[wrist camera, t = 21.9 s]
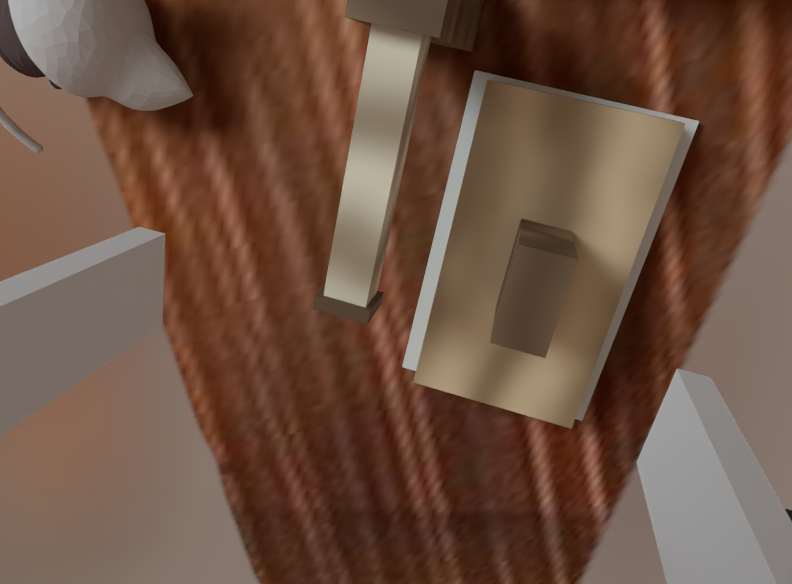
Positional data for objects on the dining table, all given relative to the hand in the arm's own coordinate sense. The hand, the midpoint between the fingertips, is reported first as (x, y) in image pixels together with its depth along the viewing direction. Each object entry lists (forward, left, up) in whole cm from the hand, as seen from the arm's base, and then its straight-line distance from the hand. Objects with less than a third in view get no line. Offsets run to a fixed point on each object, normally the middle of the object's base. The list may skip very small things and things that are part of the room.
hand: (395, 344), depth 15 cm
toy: (-3, -28, -28) cm, 40 cm away
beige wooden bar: (-4, -5, -19) cm, 20 cm away
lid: (+4, +5, -27) cm, 28 cm away
